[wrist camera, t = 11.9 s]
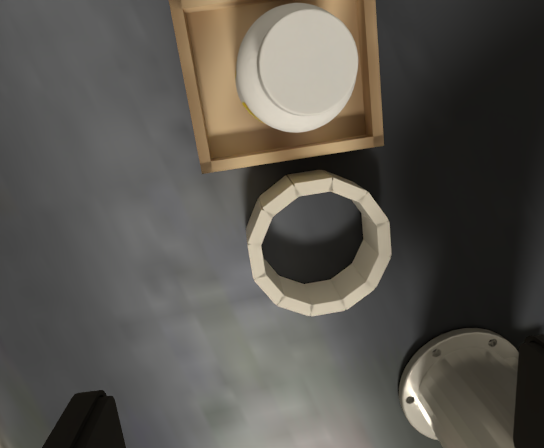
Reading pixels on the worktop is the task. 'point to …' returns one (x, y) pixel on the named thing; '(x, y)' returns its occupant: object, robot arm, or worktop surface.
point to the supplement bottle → (296, 67)
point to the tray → (225, 101)
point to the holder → (346, 283)
